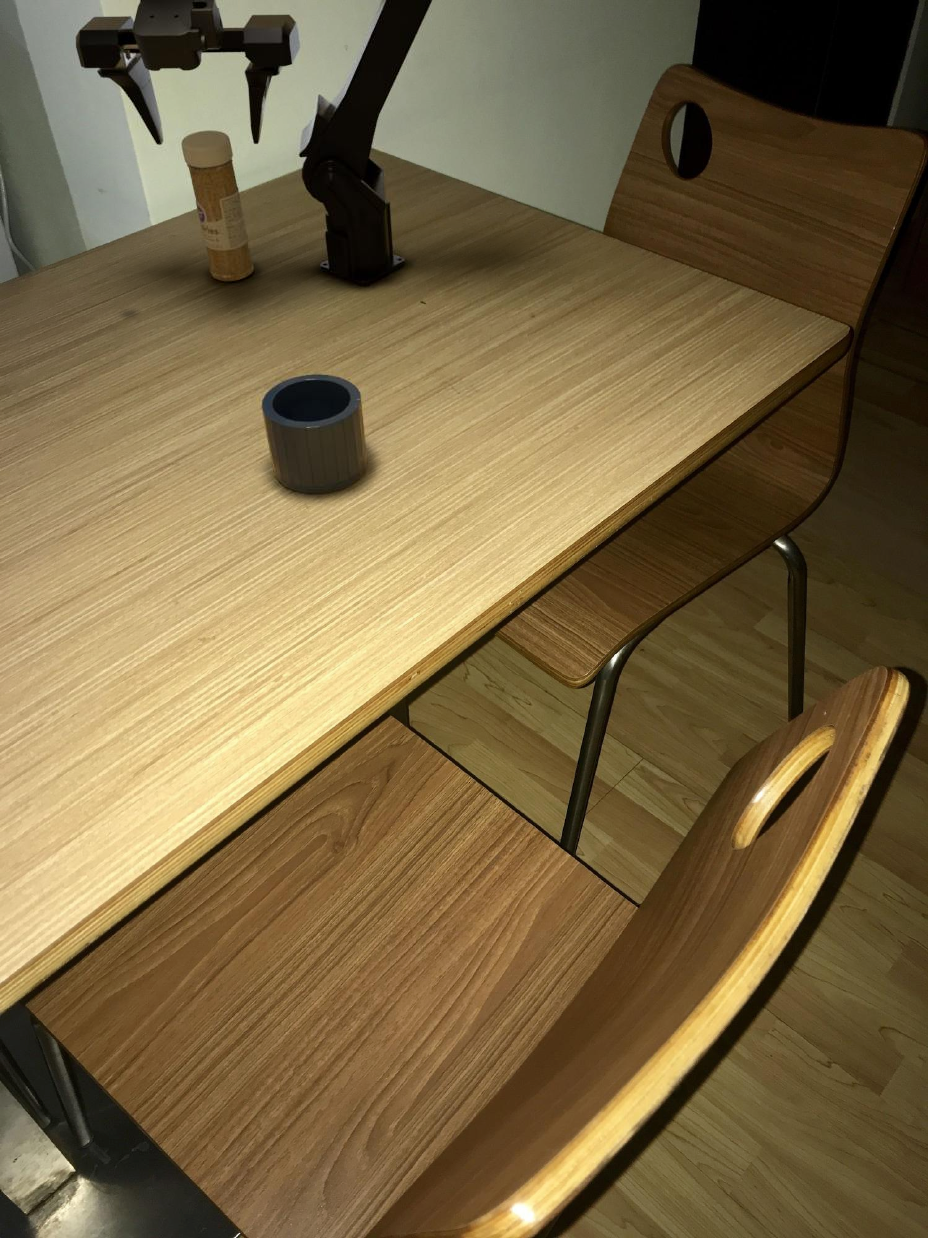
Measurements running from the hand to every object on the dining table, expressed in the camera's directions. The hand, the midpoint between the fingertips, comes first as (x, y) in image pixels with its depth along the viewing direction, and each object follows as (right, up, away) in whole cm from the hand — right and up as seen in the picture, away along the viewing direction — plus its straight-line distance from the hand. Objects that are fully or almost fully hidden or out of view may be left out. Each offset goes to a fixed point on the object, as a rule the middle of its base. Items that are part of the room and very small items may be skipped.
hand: (208, 142), depth 94 cm
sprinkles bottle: (0, -9, +9) cm, 13 cm away
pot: (+13, -33, -15) cm, 39 cm away
